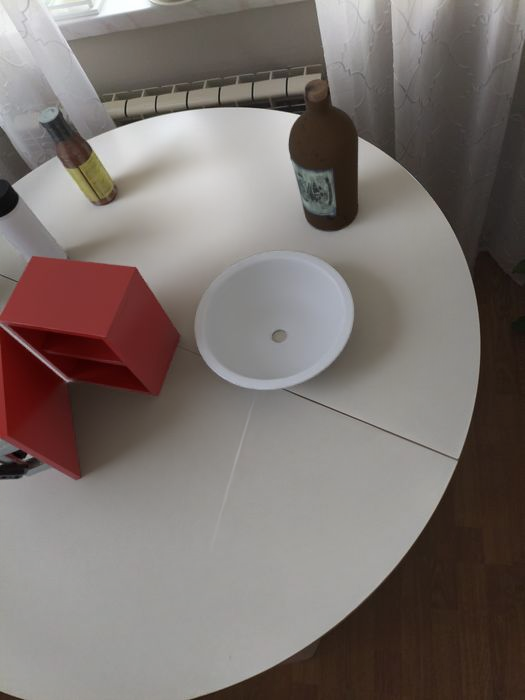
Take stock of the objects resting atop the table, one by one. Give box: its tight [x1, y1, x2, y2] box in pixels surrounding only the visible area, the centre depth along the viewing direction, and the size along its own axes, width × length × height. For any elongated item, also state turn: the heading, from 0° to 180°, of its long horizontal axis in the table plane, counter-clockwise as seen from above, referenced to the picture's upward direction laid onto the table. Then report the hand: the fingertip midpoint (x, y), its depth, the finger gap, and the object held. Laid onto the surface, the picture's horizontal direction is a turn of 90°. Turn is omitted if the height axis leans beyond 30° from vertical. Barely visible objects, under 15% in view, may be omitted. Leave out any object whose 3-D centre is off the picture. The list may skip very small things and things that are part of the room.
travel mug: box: [0, 178, 70, 264], centre depth 96 cm, size 6×7×20 cm
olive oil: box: [287, 78, 359, 232], centre depth 87 cm, size 11×11×25 cm
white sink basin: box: [193, 250, 355, 391], centre depth 85 cm, size 24×24×7 cm
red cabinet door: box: [0, 325, 82, 481], centre depth 79 cm, size 6×17×19 cm, turn 18°
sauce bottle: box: [37, 106, 117, 206], centre depth 102 cm, size 7×6×20 cm
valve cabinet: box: [0, 256, 182, 397], centre depth 83 cm, size 11×17×19 cm, turn 75°
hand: (26, 461), depth 77 cm, fingers closed on red cabinet door, 2 cm apart
